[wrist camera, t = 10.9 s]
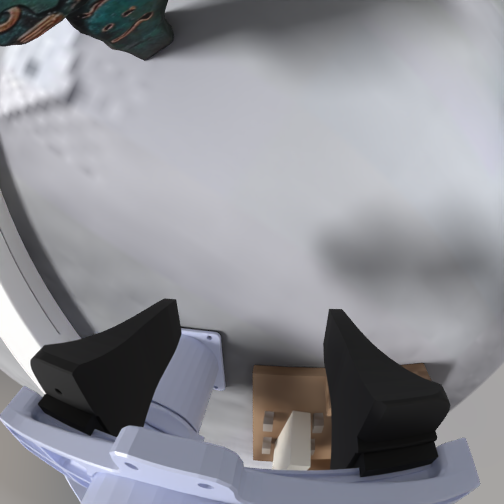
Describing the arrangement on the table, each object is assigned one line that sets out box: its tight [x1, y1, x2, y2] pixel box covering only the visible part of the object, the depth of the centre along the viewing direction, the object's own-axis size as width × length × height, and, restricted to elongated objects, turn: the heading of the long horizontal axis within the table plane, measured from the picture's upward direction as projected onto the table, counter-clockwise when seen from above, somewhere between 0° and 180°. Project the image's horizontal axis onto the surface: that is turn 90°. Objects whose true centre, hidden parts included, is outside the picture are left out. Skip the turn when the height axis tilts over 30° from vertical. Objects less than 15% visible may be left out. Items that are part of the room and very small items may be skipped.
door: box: [272, 411, 311, 470], centre depth 25 cm, size 3×8×7 cm, turn 170°
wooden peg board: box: [253, 363, 431, 470], centre depth 26 cm, size 18×20×5 cm
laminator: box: [0, 189, 81, 394], centre depth 24 cm, size 34×12×6 cm, turn 27°
